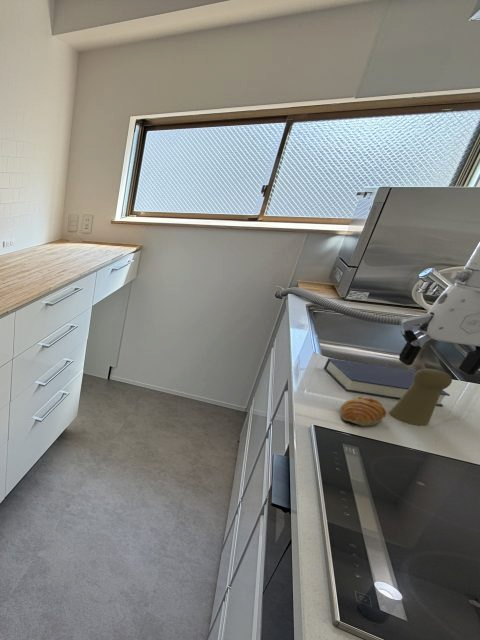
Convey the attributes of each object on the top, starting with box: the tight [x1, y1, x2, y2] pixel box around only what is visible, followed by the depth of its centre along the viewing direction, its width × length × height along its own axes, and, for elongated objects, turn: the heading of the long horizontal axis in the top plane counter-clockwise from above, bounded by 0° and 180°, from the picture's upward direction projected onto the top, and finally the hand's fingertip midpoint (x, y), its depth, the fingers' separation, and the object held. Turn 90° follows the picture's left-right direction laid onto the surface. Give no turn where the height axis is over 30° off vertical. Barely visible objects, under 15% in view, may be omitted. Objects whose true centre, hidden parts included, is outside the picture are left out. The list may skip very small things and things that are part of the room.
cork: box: [389, 367, 453, 427], centre depth 85 cm, size 6×6×11 cm
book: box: [323, 357, 451, 407], centre depth 101 cm, size 18×14×3 cm
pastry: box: [340, 396, 387, 427], centre depth 85 cm, size 9×7×4 cm
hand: (434, 367), depth 82 cm, fingers open, 9 cm apart
